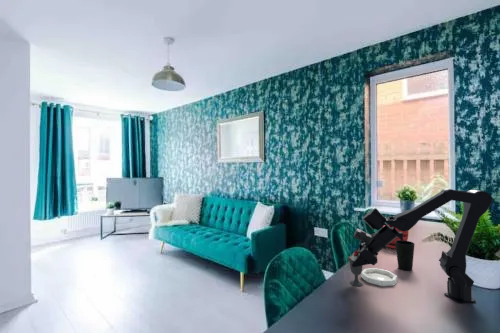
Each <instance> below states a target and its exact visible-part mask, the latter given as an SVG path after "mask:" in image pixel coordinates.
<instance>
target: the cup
mask: <svg viewBox="0 0 500 333" xmlns="http://www.w3.org/2000/svg"><path fill="white" fill-rule="evenodd" d="M395 244H396V249H395V251H396V260H397V268H398V270H402V271H404V272H409V271H410V272H411V271H412V270H413V266H414V254H415V253H414V252H415V243H414V242H412V241H409V240H407V241H404V240H403V241H401V240H398V241H395Z"/></svg>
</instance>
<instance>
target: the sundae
mask: <svg viewBox="0 0 500 333" xmlns="http://www.w3.org/2000/svg"><path fill="white" fill-rule="evenodd" d="M359 255H360V253H359V251H358V250H357V247H356V248H355V250H354V251H353V253H352V254H351V255H349V256H348V257H347V260H348V261H349V262H348V263H349V268H350V272H351V273H352V274H353V275H354V280H350V281H349V284H350V285H352V286H354V287H361V286H362V287H363V286H364V283H363V282H362V281H360V280H359V275H361V272H362V271H363V266H364V265H362V266H357V267H353V266H352V264H353V262H354V261H355V260H356V259H357V257H358V256H359Z"/></svg>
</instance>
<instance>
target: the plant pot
mask: <svg viewBox="0 0 500 333" xmlns="http://www.w3.org/2000/svg"><path fill="white" fill-rule="evenodd" d="M387 225H388V226H389V227H390V228H391V227H393V226H390V225H389V224H387ZM384 226H385V225H384ZM384 226H383V227H384ZM383 227H382V228H383ZM394 228H395V229H396V230H397V231H398V232H402V233H403V240H404V241H409V230H408V231H400V230H398V229H397V228H396V227H394ZM398 240H400V239H399V238H398V237H397V238H396V239H394V240H393V241H392V242H391V243H389V244H388V245H387V246H386V247H388V248H390V249H393V250H394V249H395V250H396V244H395V241H398Z"/></svg>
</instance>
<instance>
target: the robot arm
mask: <svg viewBox="0 0 500 333" xmlns="http://www.w3.org/2000/svg"><path fill="white" fill-rule="evenodd" d="M451 201H456V202H460V203H461V202H462V205H463V208H462V209H463V214H462V217H461V220H460V222H459V224H458V228H457V230H456V233H455V236H454V239H453V241H452V244H451V247H450V248H449V250H448V251H447V252H446V251H444V250H442V252H441V256H440V258H439V259H438V261H439V262H440V263H439V265H440V267H441V269H442V271H443V272H444V273H445V274H446V276H448V277H447V281H446V284H447V288H446V289H447V292H444V293H443V294H444V295H445V296H446V297H448V298H449V299H452V300H453V301H455V302H456V303H459V304H466V303H476V302H477V301H476V299H474V298H472V296H473V295H472V287H473V285H474V282H475V281H474V279H472V277H470V276H469V275H468V274H467V273H466V272H467V253H468V251H469V248H470V245H471V242H472V241H473V240H472V239H473V237H474V234H475V232H476V229H477V226H478V223H479V221H480V219H481V217H482V216H484V214H485V213H486V212H487V211H488V210H489V208H490V207H491V206H492V204H493V197H492V195H491V194H490V193H489V192H487V191H484V190H479V189H470V190H468V191H465V190H458V189H457V190H456V189H452V188H444V189H442V190H441V191H440V192H438V193H436V194H435V195H433V196H431V197H430V198H428V199H427V200H425V201H423V202H421V203H419V204H418V205H416V206H415V207H413V208H411V209H408V210H404V211H401V212H398V213H397V214H395V215H393V216H384V215H383V214H382V213H381V212H380V211H379V209H378V208H376V207H375V208H373V209H372V210H370V211H368V212H367V213H366V214H365V215H364V216H363V217H362V218H361V220H362V221H363V222H365V223H366V224H367V225H368V226H369V227H370V228H371V229H372V230H376V231H377V232H375V233H374V232H373V233H371V234H370V233H367V232H366V231H364V230H362V229H360V228H356V230H355V231H354V233H353V238H354V239H356V240H359V242H358V243H359V244H358V250H357V251H359V253H360V255H359V256H358V257H357V259H356V260H355V261H354V262H353V264H352V266H353V267H357V266H362V265H363V266H368V265H372V266H375V265H376V264H378V255H379V252H381V251H382V250H385V249H387V245H388V244H389V243H391V242H392V241H393V240H394V239H396V238H397V237H398V238H399V239H400V240H401V241H403V233H402V232H398V231H397V230H396V229H395V228H394V227H396V228H397V229H398V230H400V231H408V232H409V231H410V230H411V229H412V228H413V227H414V226H416V225H417V223H418V222H419V221H420V220H421V219H423V218H424V217H426V216H427V215H429V214H430V213H432V212H434V211H436V210H437V209H439V208H441V207H443V206H444V205H445V204H448V203H449V202H451ZM384 225H385V226H384ZM388 225H390V226H393V227H391V228H390V227H389V226H388ZM383 226H384V227H383ZM363 266H362V267H363Z"/></svg>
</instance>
